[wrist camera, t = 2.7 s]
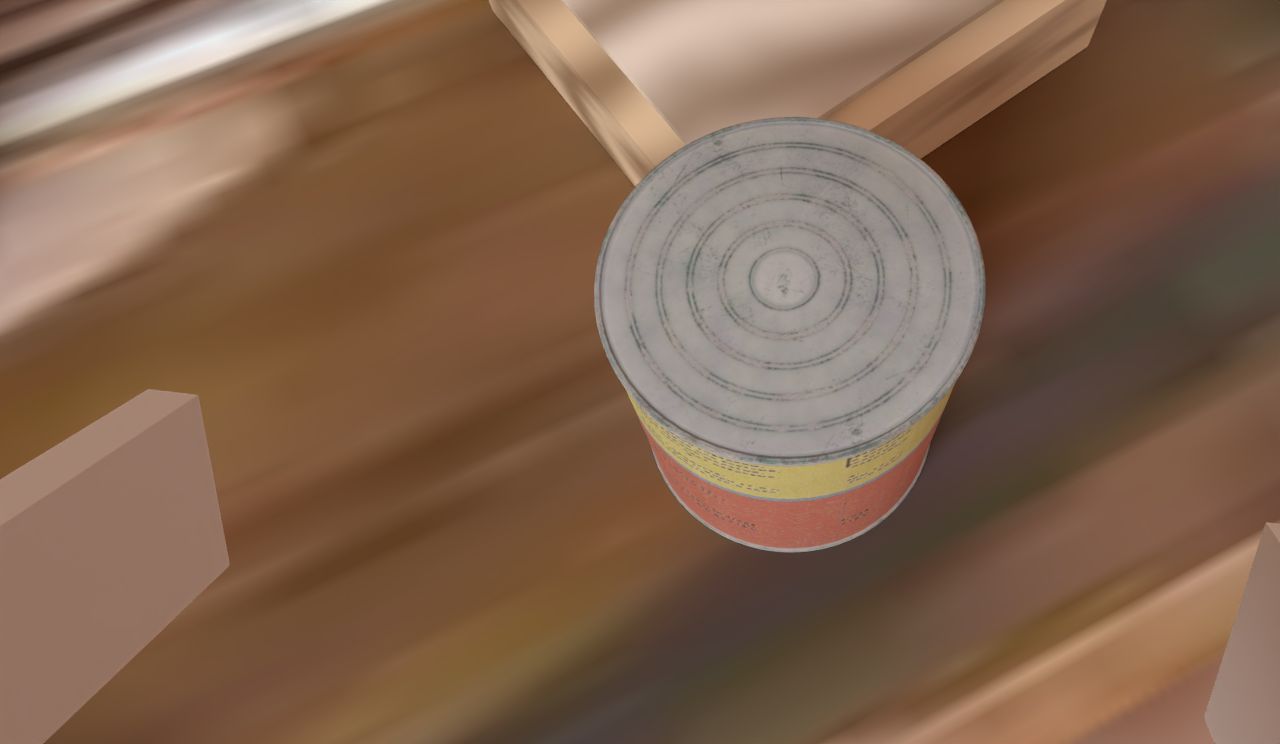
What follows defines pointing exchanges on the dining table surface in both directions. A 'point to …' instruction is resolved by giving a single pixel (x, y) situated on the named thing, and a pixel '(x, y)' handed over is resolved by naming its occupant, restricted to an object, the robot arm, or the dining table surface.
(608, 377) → the dining table surface
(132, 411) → the robot arm
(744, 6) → the tray
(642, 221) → the canned food
